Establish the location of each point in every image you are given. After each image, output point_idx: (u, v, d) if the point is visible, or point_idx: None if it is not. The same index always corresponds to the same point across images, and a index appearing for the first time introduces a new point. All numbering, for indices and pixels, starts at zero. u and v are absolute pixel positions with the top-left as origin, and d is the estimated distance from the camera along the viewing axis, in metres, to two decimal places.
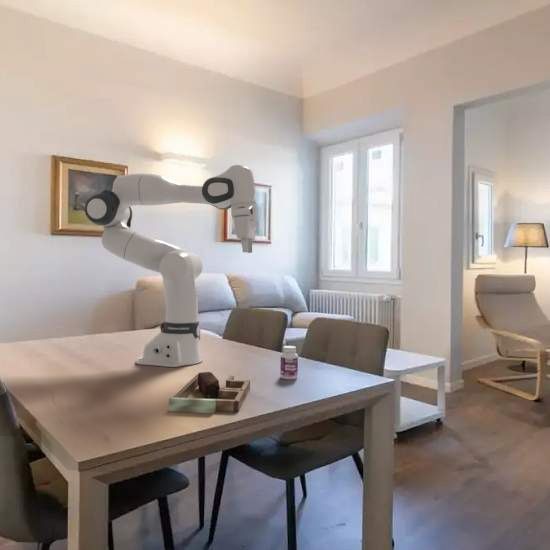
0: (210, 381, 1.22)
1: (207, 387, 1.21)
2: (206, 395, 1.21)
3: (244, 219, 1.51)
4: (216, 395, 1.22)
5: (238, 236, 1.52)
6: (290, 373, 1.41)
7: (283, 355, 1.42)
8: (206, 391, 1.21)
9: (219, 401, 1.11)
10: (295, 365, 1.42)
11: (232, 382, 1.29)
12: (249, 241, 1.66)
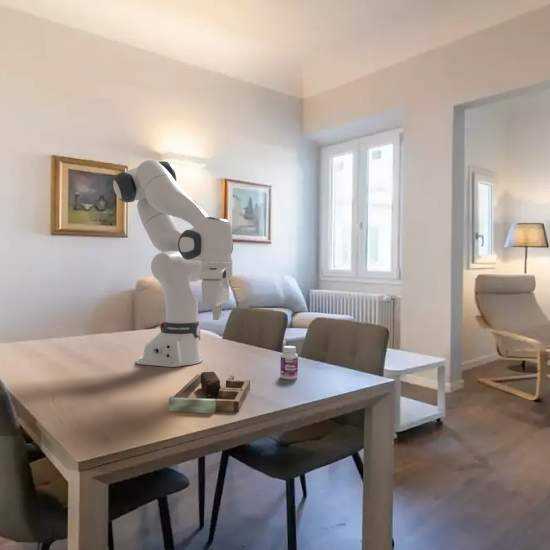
0: (211, 381, 1.23)
1: (208, 387, 1.21)
2: (207, 394, 1.22)
3: (214, 285, 1.27)
4: (217, 395, 1.22)
5: (205, 304, 1.27)
6: (290, 373, 1.41)
7: (283, 355, 1.42)
8: (207, 391, 1.21)
9: (219, 401, 1.11)
10: (295, 365, 1.42)
11: (232, 382, 1.29)
12: None
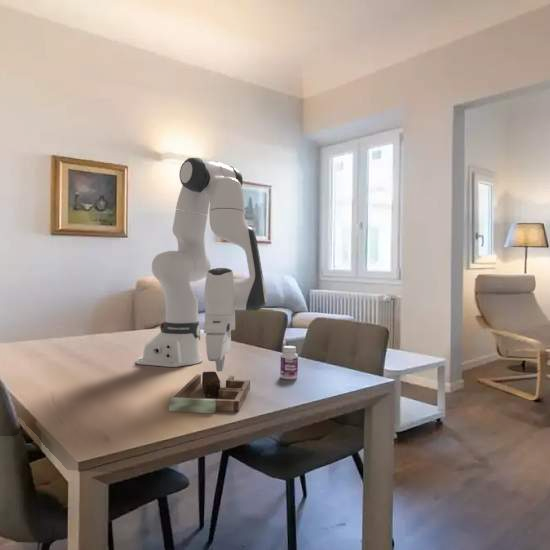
0: (211, 381, 1.23)
1: (207, 386, 1.22)
2: (206, 394, 1.22)
3: (218, 340, 1.27)
4: (216, 395, 1.22)
5: (209, 359, 1.27)
6: (290, 373, 1.41)
7: (283, 355, 1.42)
8: (206, 390, 1.22)
9: (219, 401, 1.11)
10: (295, 365, 1.42)
11: (232, 382, 1.29)
12: None
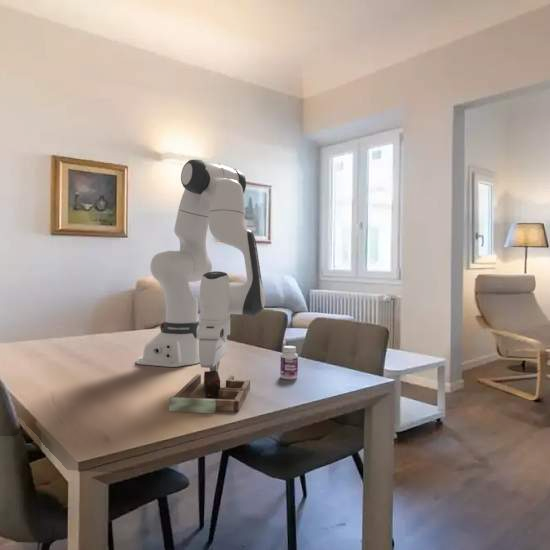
0: (211, 380, 1.23)
1: (207, 386, 1.21)
2: (206, 394, 1.22)
3: (211, 346, 1.24)
4: (216, 394, 1.22)
5: (202, 365, 1.24)
6: (290, 373, 1.41)
7: (283, 355, 1.42)
8: (206, 390, 1.21)
9: (219, 401, 1.11)
10: (295, 365, 1.42)
11: (232, 382, 1.29)
12: None
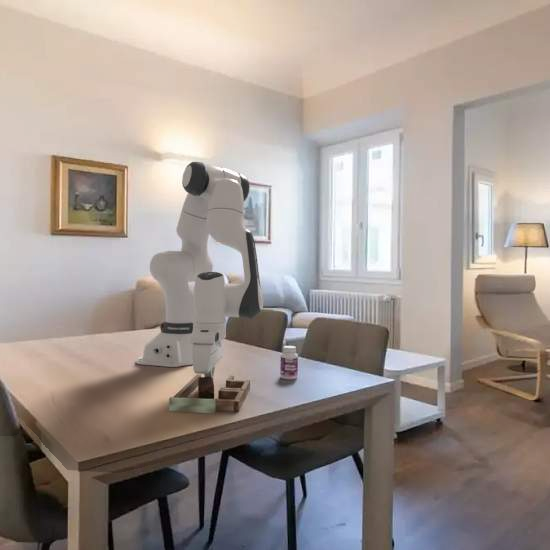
0: (204, 387, 1.16)
1: (200, 393, 1.15)
2: None
3: (205, 351, 1.17)
4: None
5: (196, 371, 1.17)
6: (290, 373, 1.41)
7: (283, 355, 1.42)
8: (199, 397, 1.15)
9: (219, 401, 1.11)
10: (295, 365, 1.42)
11: (232, 382, 1.29)
12: None
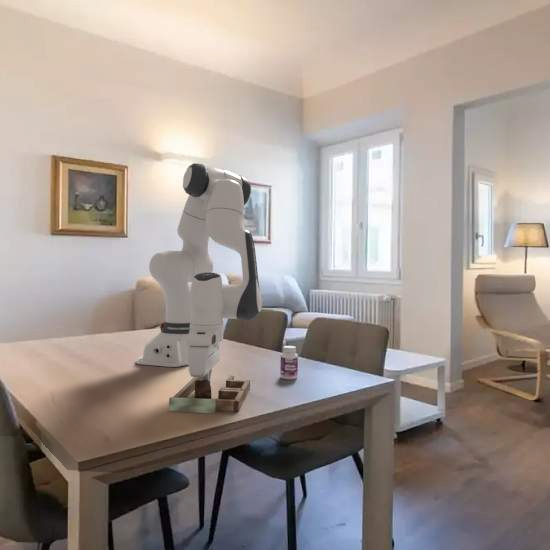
0: (201, 391, 1.13)
1: (197, 397, 1.12)
2: None
3: (202, 353, 1.14)
4: None
5: (192, 375, 1.14)
6: (290, 373, 1.41)
7: (283, 355, 1.42)
8: None
9: (219, 401, 1.11)
10: (295, 365, 1.42)
11: (232, 382, 1.29)
12: None
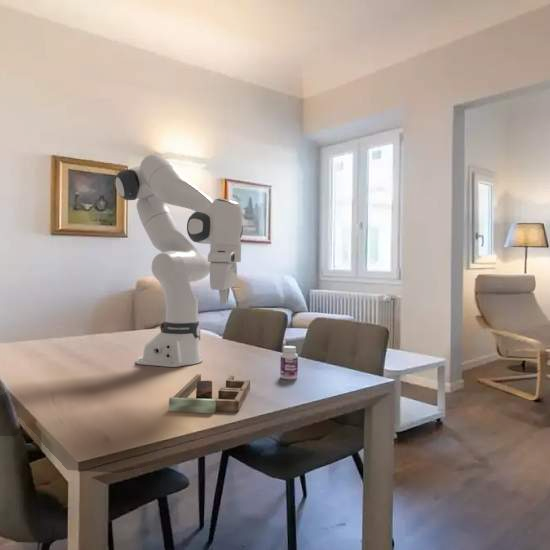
0: (202, 391, 1.13)
1: None
2: None
3: (222, 268, 1.24)
4: None
5: (212, 287, 1.25)
6: (290, 373, 1.41)
7: (283, 355, 1.42)
8: None
9: (219, 401, 1.11)
10: (295, 365, 1.42)
11: (232, 382, 1.29)
12: None
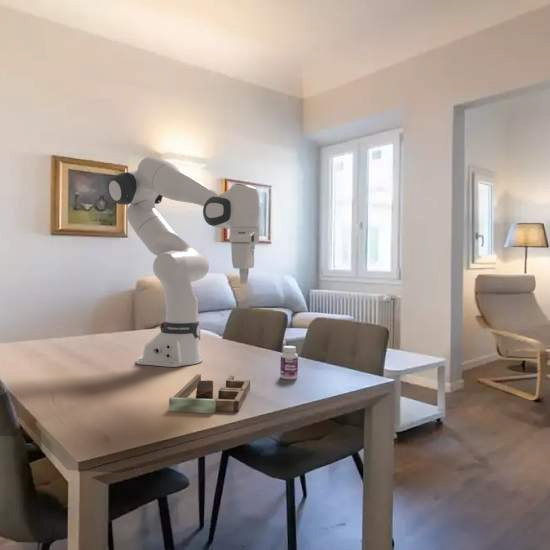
0: (202, 391, 1.13)
1: (197, 397, 1.12)
2: None
3: (243, 248, 1.32)
4: None
5: (234, 266, 1.32)
6: (290, 373, 1.41)
7: (283, 355, 1.42)
8: None
9: (219, 401, 1.11)
10: (295, 365, 1.42)
11: (232, 382, 1.29)
12: None
